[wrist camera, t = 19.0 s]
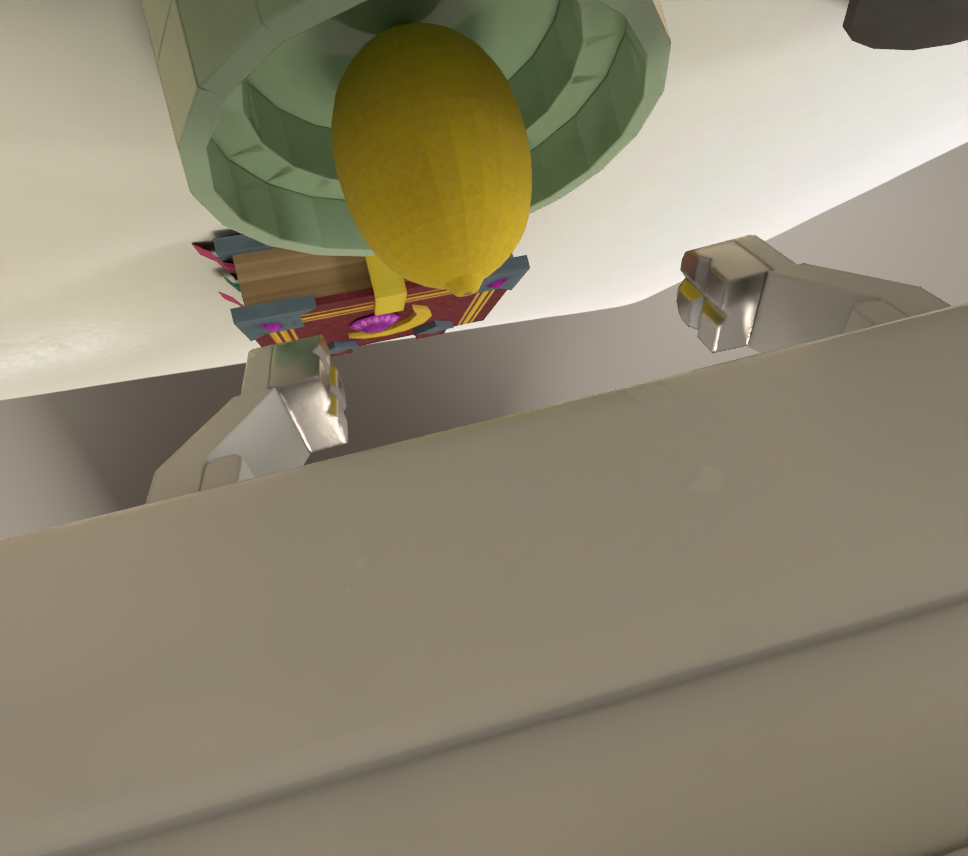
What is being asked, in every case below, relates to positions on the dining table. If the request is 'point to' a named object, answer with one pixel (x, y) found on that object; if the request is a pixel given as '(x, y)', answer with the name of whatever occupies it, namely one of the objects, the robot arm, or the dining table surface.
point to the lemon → (432, 156)
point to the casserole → (906, 23)
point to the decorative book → (344, 296)
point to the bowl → (323, 61)
